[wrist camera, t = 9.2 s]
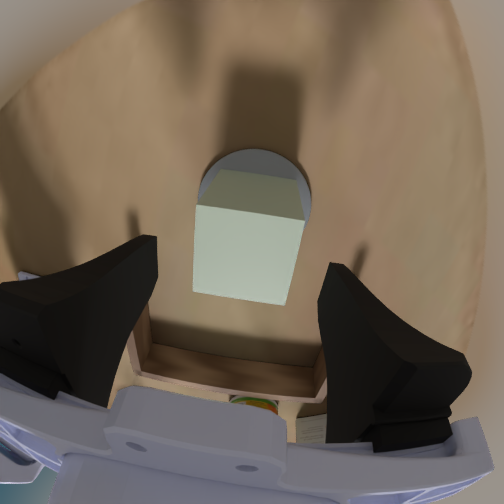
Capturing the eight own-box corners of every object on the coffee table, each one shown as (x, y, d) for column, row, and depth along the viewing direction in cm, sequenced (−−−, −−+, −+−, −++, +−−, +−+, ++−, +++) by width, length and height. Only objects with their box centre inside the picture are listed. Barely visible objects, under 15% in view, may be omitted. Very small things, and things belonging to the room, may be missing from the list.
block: (214, 235, 20) (192, 291, 14) (220, 168, 17) (196, 204, 12) (283, 245, 20) (284, 305, 14) (296, 179, 17) (305, 221, 12)
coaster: (196, 243, 21) (195, 246, 20) (203, 141, 17) (202, 142, 17) (298, 259, 21) (298, 262, 20) (320, 159, 17) (321, 160, 17)
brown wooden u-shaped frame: (145, 346, 27) (133, 374, 23) (134, 254, 21) (114, 281, 18) (318, 373, 27) (321, 403, 24) (355, 288, 21) (365, 319, 18)
